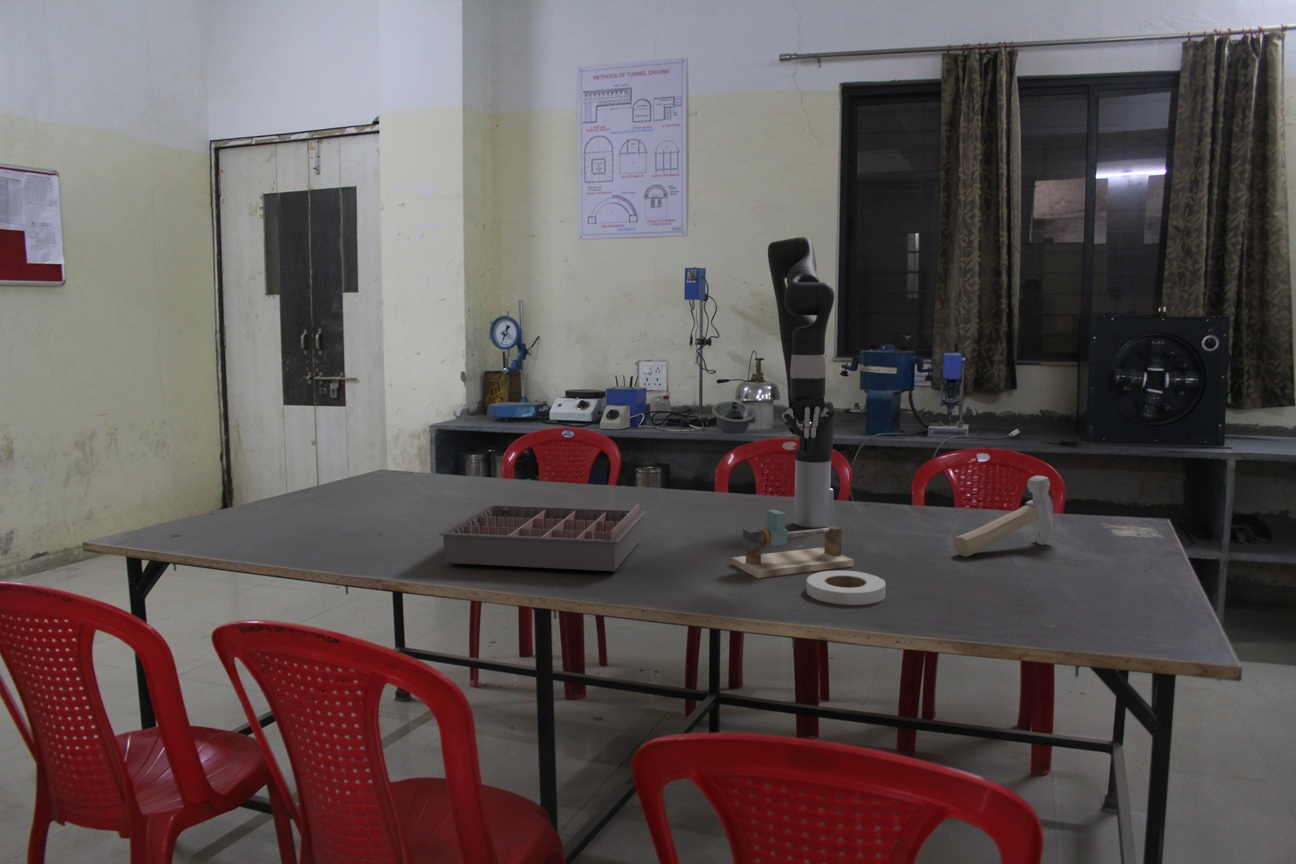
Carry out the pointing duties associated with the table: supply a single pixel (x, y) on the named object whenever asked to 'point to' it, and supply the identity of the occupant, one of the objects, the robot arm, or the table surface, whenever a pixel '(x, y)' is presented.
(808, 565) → the cable board
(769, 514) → the teal stepped block
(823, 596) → the roll of tape
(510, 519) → the organizer tray
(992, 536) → the hammer
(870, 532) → the table surface
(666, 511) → the table surface
